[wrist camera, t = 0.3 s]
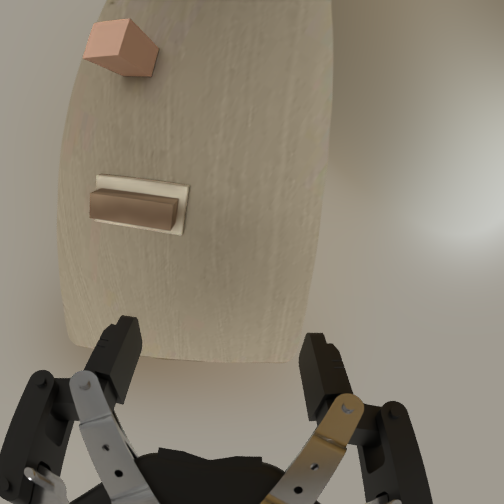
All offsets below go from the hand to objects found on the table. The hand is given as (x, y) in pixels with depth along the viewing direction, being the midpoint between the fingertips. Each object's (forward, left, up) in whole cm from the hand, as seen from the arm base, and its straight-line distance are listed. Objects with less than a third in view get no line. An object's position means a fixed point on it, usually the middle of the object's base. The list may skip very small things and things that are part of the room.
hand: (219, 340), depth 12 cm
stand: (0, -13, -28) cm, 31 cm away
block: (-21, -13, -28) cm, 37 cm away
